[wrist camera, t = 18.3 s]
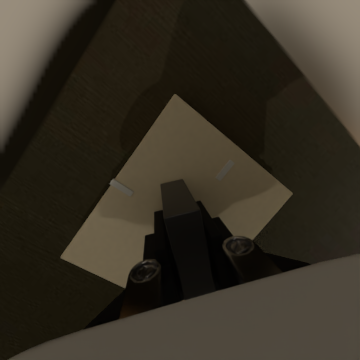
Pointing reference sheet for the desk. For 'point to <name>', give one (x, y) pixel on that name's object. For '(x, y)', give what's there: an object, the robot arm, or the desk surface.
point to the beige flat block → (166, 172)
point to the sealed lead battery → (187, 239)
